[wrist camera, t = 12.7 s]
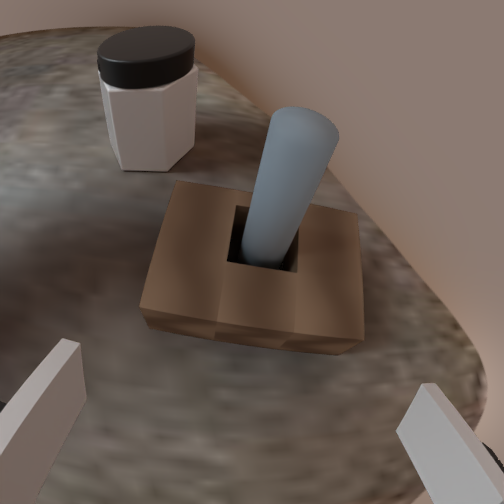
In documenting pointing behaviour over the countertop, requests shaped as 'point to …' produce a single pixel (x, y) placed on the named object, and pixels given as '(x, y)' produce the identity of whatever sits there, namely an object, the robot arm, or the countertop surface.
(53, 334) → the countertop surface
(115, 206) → the countertop surface
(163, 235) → the hole block
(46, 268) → the countertop surface
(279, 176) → the peg
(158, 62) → the jar
